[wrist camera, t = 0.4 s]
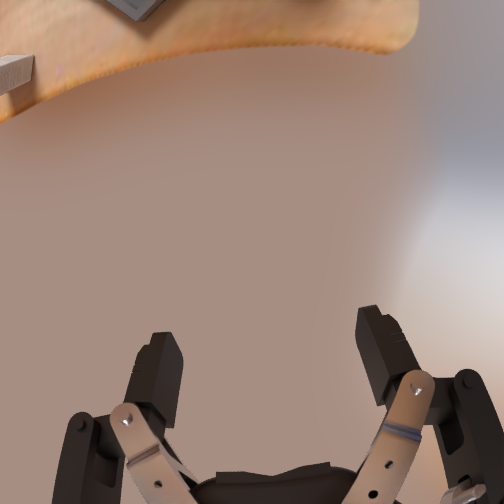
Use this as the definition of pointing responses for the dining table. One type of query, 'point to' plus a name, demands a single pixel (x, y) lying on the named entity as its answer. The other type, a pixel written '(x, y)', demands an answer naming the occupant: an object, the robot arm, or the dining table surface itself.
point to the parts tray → (137, 8)
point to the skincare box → (14, 71)
